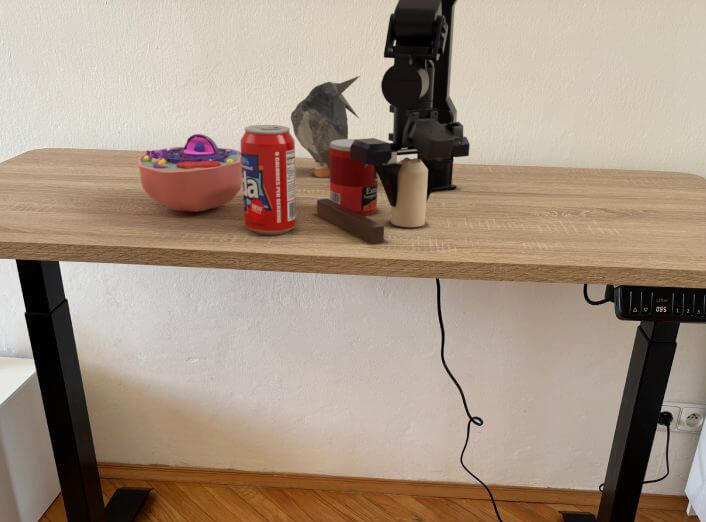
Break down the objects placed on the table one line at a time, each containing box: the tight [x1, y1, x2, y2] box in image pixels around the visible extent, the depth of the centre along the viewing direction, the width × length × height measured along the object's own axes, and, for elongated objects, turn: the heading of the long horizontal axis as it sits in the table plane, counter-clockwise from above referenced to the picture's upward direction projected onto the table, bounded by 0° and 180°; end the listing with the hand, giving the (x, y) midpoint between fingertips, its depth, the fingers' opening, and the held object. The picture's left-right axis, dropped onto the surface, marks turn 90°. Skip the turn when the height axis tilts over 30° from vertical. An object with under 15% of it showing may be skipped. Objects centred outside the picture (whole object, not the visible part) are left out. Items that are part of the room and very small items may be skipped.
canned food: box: [329, 138, 379, 216], centre depth 130 cm, size 8×8×11 cm
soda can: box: [240, 124, 297, 236], centre depth 117 cm, size 8×8×15 cm
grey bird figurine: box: [290, 75, 361, 178], centre depth 153 cm, size 14×15×18 cm
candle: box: [390, 157, 428, 228], centre depth 123 cm, size 6×6×10 cm
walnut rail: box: [316, 198, 385, 245], centre depth 122 cm, size 2×18×2 cm, turn 31°
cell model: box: [136, 133, 243, 213], centre depth 127 cm, size 17×20×11 cm
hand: (408, 204), depth 124 cm, fingers closed on candle, 5 cm apart
